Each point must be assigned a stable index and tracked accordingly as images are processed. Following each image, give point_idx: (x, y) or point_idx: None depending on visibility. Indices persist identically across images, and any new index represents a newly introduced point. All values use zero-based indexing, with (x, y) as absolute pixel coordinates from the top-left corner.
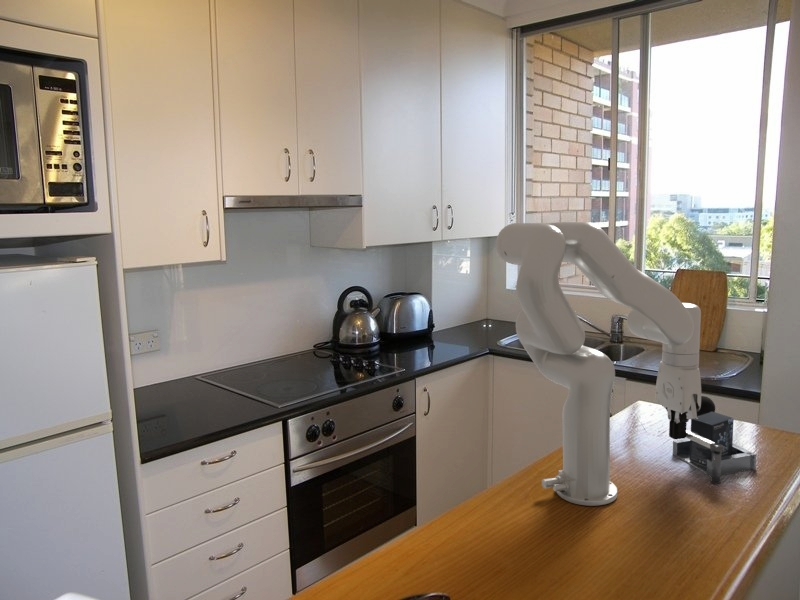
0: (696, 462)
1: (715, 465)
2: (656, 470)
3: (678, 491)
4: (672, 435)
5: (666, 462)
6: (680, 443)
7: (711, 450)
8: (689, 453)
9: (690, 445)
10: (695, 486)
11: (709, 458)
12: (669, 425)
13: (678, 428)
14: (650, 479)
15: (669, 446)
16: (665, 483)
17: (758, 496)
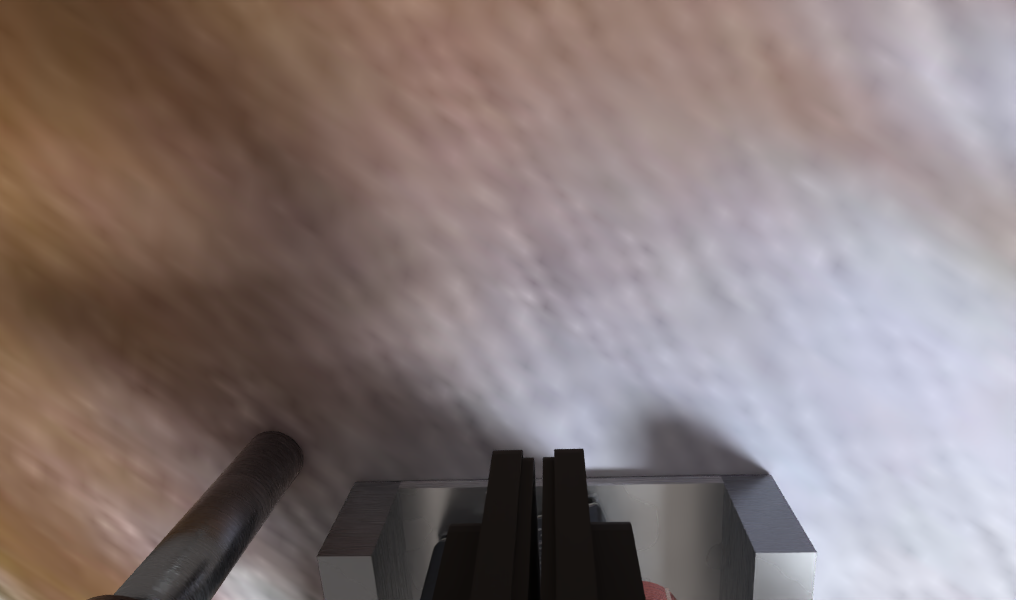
0: (541, 518)
1: (180, 522)
2: (556, 194)
3: (185, 142)
4: (515, 469)
5: (662, 351)
6: (749, 574)
7: (110, 597)
8: (716, 574)
9: None
10: (243, 304)
11: (433, 592)
12: (592, 551)
13: (446, 593)
14: (417, 48)
15: (911, 537)
16: (325, 126)
17: (74, 549)
